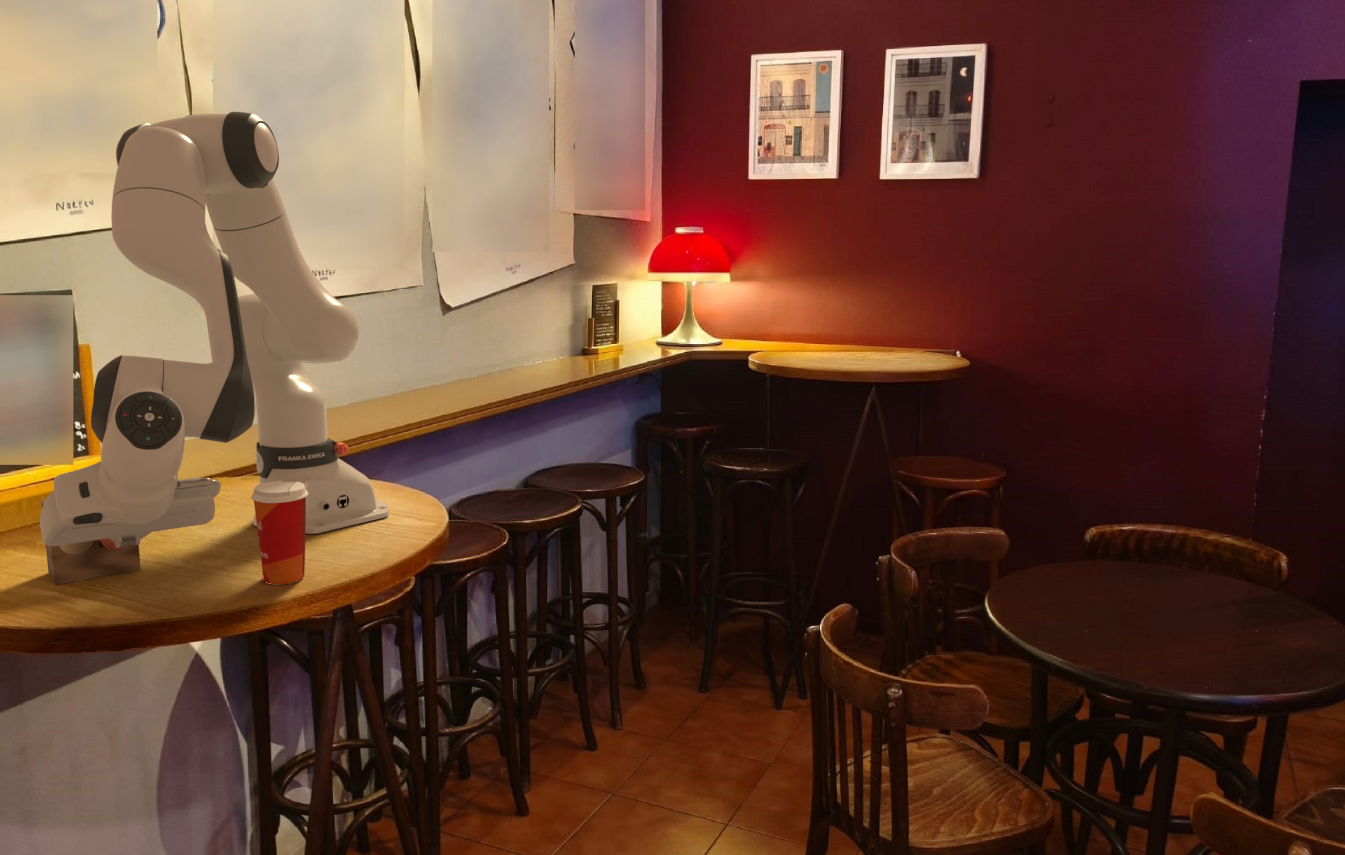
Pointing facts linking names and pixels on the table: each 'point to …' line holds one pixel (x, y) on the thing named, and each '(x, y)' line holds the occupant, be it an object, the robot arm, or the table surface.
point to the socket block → (89, 561)
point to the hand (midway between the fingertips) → (126, 541)
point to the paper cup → (281, 530)
